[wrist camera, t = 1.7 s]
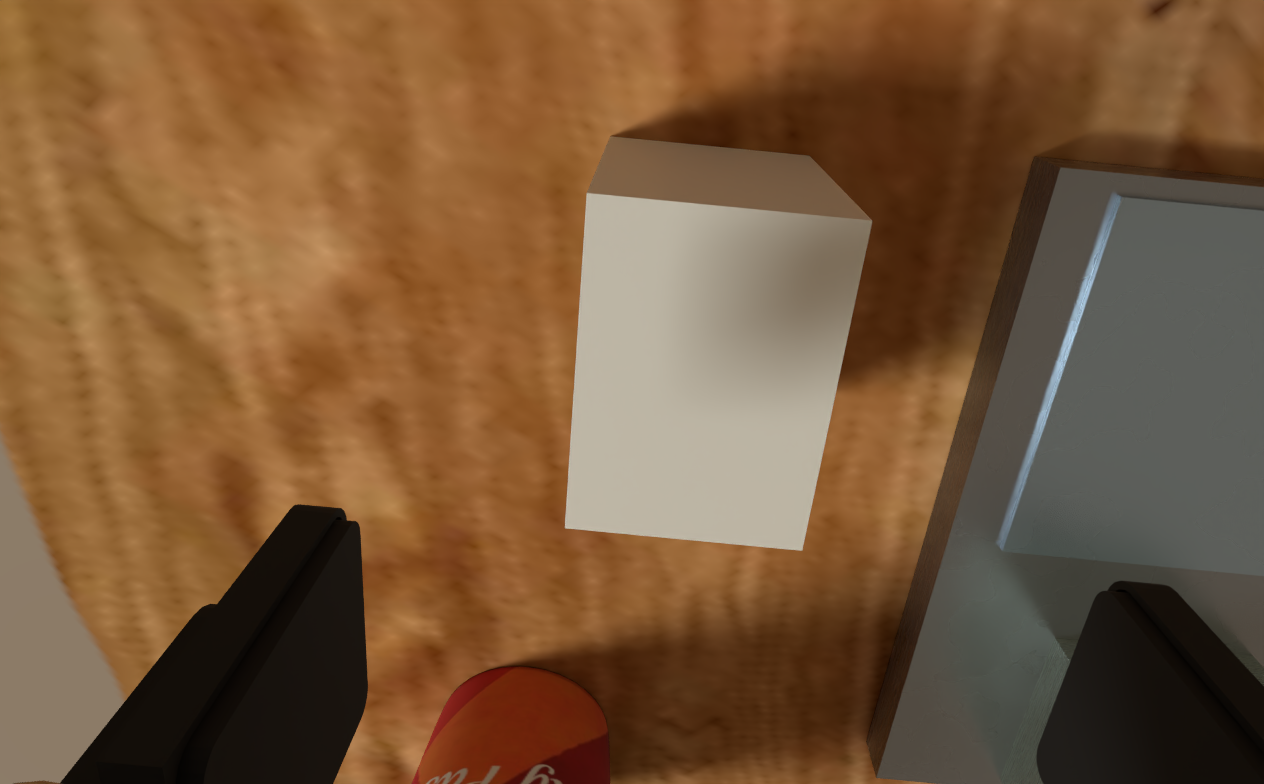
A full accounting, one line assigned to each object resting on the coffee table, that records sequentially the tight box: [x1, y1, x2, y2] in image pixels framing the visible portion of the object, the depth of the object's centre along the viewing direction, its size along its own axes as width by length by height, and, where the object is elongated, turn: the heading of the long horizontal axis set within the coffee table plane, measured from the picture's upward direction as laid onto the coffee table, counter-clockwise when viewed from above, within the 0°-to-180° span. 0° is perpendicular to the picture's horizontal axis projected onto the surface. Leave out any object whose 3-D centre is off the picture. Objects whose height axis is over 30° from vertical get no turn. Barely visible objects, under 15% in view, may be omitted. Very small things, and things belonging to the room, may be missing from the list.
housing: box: [565, 136, 872, 551], centre depth 19 cm, size 7×5×7 cm
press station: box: [866, 157, 1264, 784], centre depth 21 cm, size 20×12×8 cm, turn 175°
